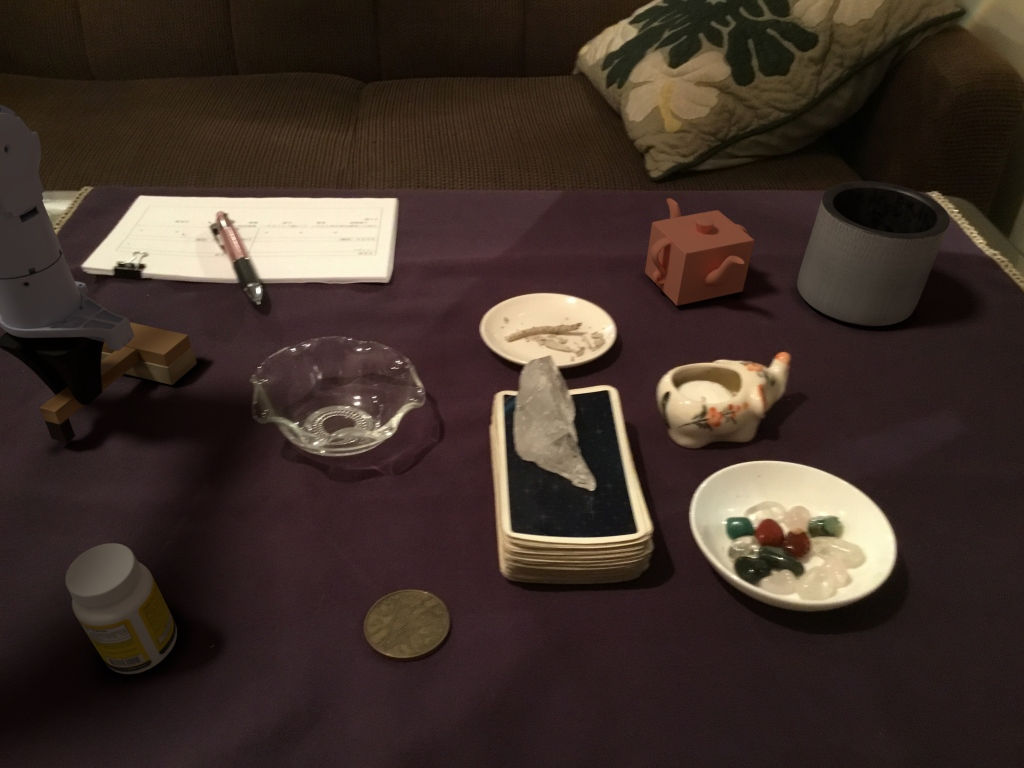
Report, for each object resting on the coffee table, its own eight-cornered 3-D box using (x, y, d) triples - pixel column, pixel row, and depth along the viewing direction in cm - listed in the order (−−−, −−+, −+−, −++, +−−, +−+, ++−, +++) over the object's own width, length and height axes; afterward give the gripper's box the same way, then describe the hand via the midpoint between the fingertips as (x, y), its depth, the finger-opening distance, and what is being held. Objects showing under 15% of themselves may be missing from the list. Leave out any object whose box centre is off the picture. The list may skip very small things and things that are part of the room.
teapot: (680, 334, 82) (693, 265, 76) (614, 262, 92) (622, 197, 87) (775, 312, 85) (794, 244, 80) (702, 245, 96) (714, 181, 91)
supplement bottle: (157, 602, 56) (120, 525, 51) (191, 642, 54) (156, 566, 48) (91, 646, 53) (44, 569, 48) (123, 690, 51) (78, 615, 46)
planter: (876, 346, 81) (913, 251, 74) (772, 294, 88) (797, 203, 81) (934, 302, 87) (974, 211, 80) (833, 256, 94) (861, 169, 87)
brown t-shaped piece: (22, 431, 68) (9, 399, 66) (131, 348, 78) (122, 319, 76) (96, 451, 66) (85, 419, 64) (197, 363, 77) (190, 334, 75)
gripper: (137, 249, 61) (181, 383, 70) (-15, 219, 64) (46, 352, 73) (72, 297, 56) (129, 436, 64) (-90, 262, 59) (-14, 399, 68)
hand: (81, 395), depth 68 cm, fingers closed on brown t-shaped piece, 2 cm apart
